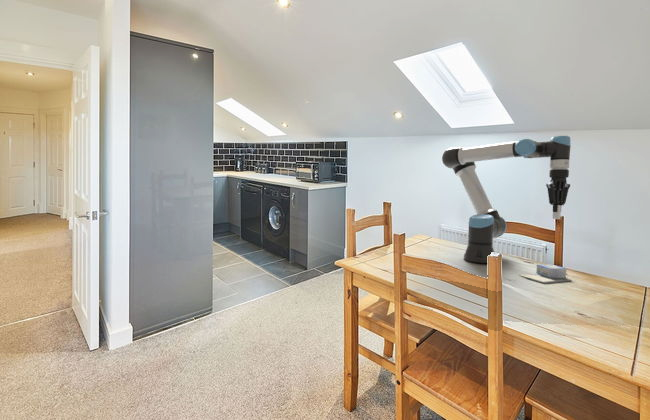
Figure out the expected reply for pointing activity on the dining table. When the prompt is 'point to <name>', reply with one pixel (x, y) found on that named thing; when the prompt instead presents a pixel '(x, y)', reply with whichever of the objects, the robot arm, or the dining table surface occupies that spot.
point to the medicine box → (551, 271)
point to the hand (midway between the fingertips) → (556, 218)
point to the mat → (545, 279)
